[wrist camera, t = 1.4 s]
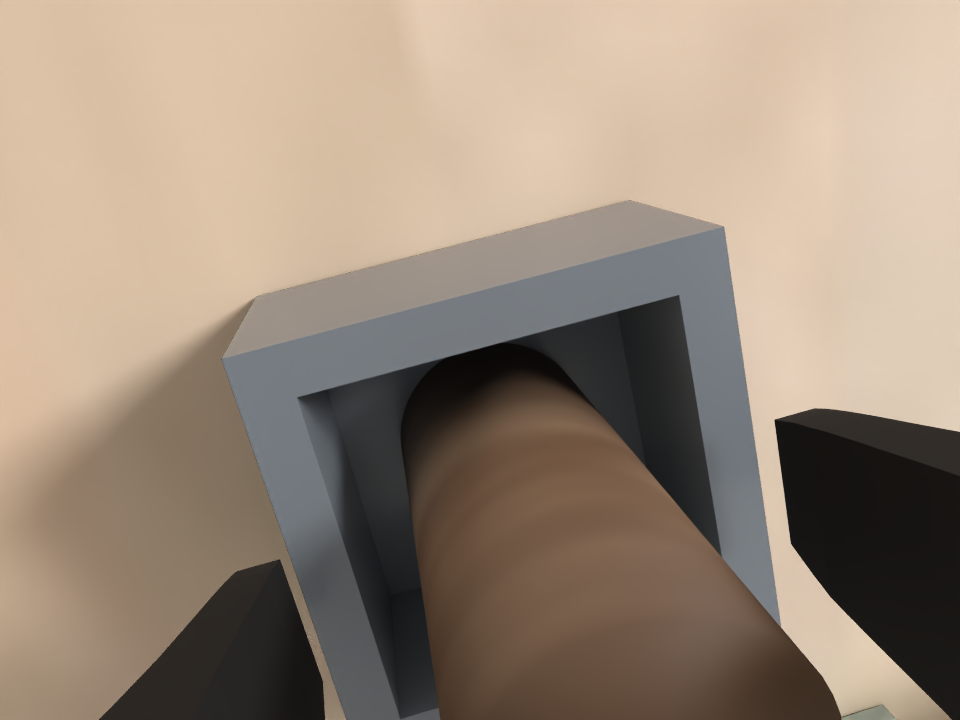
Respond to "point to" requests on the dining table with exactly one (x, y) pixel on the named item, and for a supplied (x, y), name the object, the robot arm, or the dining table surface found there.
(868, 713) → the tray
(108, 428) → the dining table surface
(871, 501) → the robot arm
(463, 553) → the dowel
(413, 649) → the grey square socket
